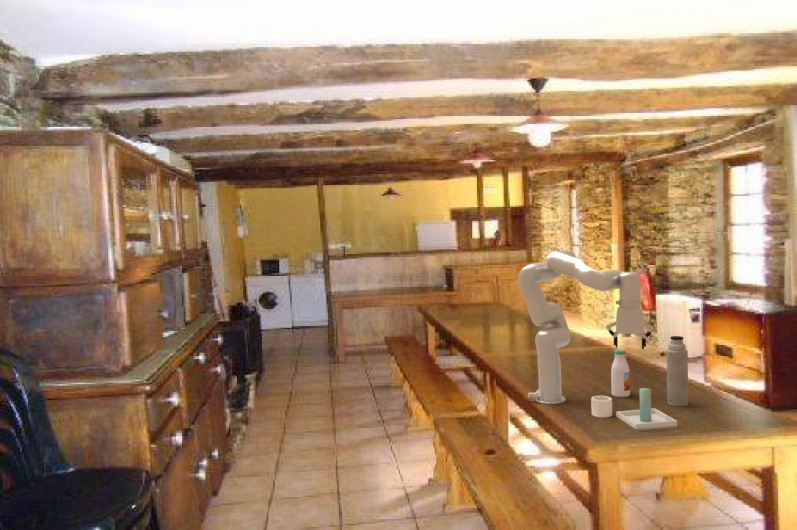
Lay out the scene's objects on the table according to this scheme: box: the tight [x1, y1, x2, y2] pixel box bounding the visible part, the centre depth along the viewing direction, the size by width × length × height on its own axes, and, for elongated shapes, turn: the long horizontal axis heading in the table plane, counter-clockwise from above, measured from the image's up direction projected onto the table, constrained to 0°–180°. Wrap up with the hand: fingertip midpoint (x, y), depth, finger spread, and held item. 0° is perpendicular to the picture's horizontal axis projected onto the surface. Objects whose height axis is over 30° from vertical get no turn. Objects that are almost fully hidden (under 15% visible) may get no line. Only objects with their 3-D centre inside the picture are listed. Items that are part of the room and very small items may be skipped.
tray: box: [615, 408, 678, 432], centre depth 244 cm, size 16×16×2 cm
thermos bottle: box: [666, 335, 689, 407], centre depth 264 cm, size 8×8×28 cm
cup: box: [590, 395, 613, 418], centre depth 254 cm, size 8×8×7 cm
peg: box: [638, 387, 652, 422], centre depth 243 cm, size 4×4×12 cm
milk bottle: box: [610, 348, 631, 398], centre depth 281 cm, size 8×8×20 cm
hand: (629, 347), depth 249 cm, fingers open, 9 cm apart
